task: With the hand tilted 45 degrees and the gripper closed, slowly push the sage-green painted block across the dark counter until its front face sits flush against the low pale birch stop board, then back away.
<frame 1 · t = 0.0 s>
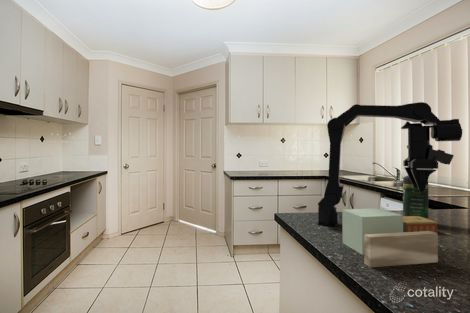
hand: (418, 189, 81), 15 cm above the counter, tool pointing down, fingers open, 9 cm apart
coffee jar: (415, 223, 95), on the counter
block: (371, 247, 70), on the counter
board: (401, 262, 59), on the counter
carton: (404, 231, 86), on the counter
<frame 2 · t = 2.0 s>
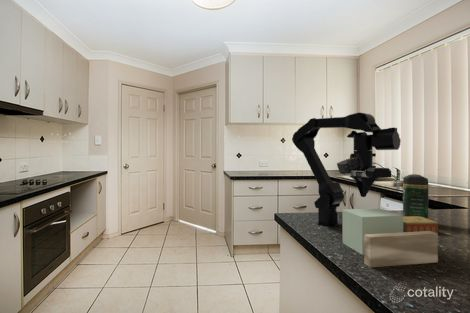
hand: (363, 196, 83), 12 cm above the counter, tool pointing down, fingers closed
nothing on the counter moved.
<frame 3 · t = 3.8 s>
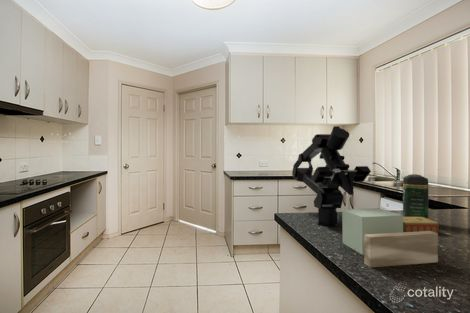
hand: (351, 194, 79), 14 cm above the counter, tool tilted 45°, fingers closed
nothing on the counter moved.
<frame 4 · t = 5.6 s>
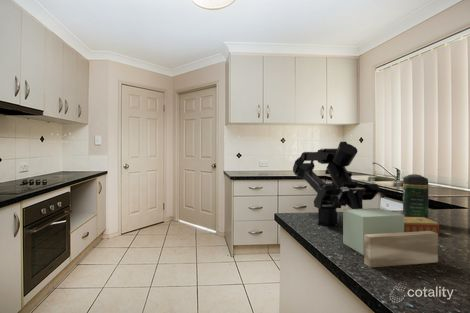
hand: (360, 214, 74), 8 cm above the counter, tool tilted 45°, fingers closed, pressing on block
block: (372, 247, 70), on the counter, touching gripper
everything else where it was.
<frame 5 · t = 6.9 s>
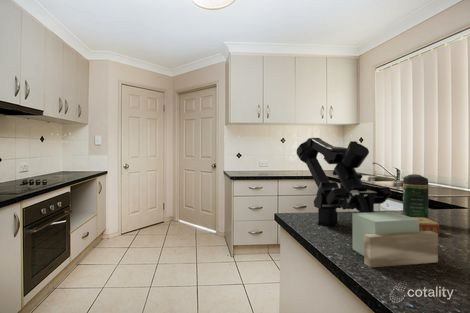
hand: (372, 220, 70), 8 cm above the counter, tool tilted 45°, fingers closed, pressing on block
block: (384, 254, 65), on the counter, touching board, gripper
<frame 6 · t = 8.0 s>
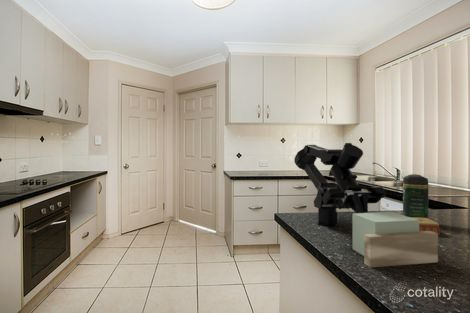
hand: (366, 219, 72), 7 cm above the counter, tool tilted 45°, fingers closed
block: (384, 254, 65), on the counter
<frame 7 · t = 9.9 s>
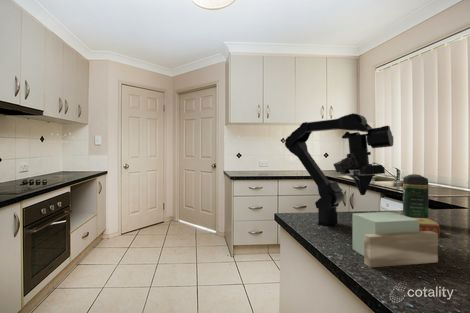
hand: (362, 195, 85), 12 cm above the counter, tool pointing down, fingers closed
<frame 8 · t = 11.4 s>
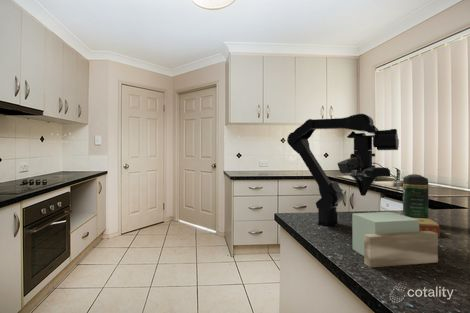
hand: (363, 195, 86), 12 cm above the counter, tool pointing down, fingers closed
at the end: block 5.5 cm from the board (horizontally); block tilted 0°; block moved 5.0 cm from its start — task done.
